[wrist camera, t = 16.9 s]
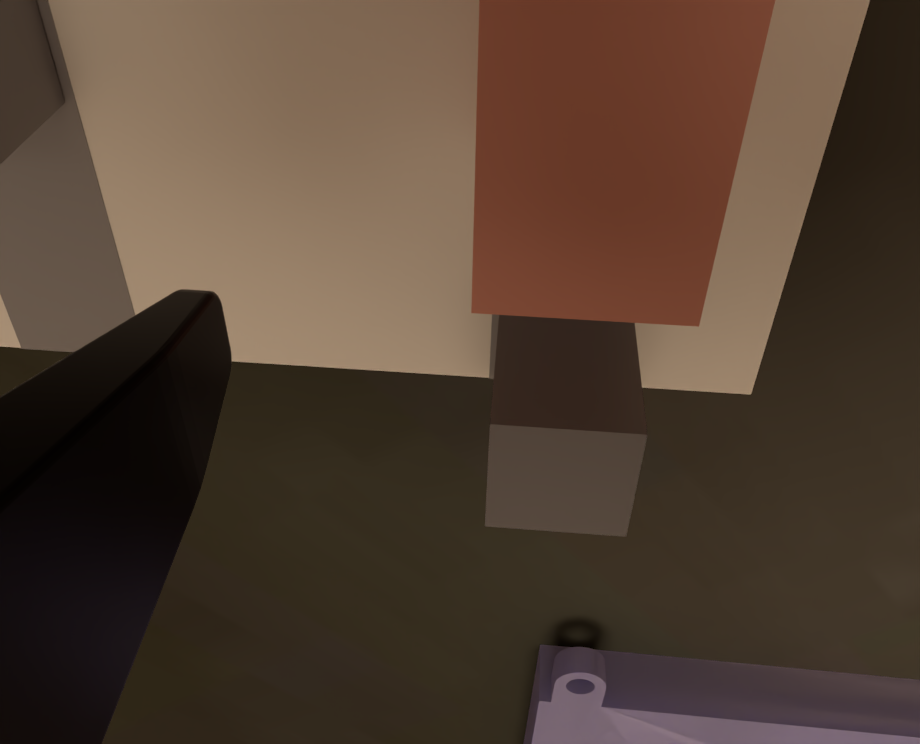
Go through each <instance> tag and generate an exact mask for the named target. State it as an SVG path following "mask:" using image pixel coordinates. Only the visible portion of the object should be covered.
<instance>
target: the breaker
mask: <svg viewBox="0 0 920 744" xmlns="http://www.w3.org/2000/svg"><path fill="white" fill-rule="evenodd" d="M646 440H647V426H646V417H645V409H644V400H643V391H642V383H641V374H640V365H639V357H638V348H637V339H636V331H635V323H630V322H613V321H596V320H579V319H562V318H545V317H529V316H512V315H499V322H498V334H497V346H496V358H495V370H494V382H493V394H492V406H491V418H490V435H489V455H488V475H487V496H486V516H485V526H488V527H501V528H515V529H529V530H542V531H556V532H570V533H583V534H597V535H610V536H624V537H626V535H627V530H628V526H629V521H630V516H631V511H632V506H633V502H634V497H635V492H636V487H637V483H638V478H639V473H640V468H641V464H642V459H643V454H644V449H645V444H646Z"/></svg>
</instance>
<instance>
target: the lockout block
mask: <svg viewBox="0 0 920 744" xmlns="http://www.w3.org/2000/svg"><path fill="white" fill-rule="evenodd" d="M774 4H775V0H479V35H478V74H477V112H476V151H475V190H474V229H473V268H472V307H471V313H478V314H495V315H512V316H529V317H545V318H562V319H579V320H596V321H613V322H630V323H647V324H664V325H681V326H697V327H699V324H700V320H701V316H702V311H703V307H704V303H705V299H706V294H707V290H708V286H709V281H710V277H711V273H712V269H713V264H714V260H715V256H716V252H717V247H718V243H719V239H720V234H721V230H722V226H723V222H724V217H725V213H726V209H727V205H728V200H729V196H730V192H731V187H732V183H733V179H734V175H735V170H736V166H737V162H738V158H739V153H740V149H741V145H742V141H743V136H744V132H745V128H746V123H747V119H748V115H749V111H750V106H751V102H752V98H753V94H754V89H755V85H756V81H757V76H758V72H759V68H760V64H761V59H762V55H763V51H764V47H765V42H766V38H767V34H768V29H769V25H770V21H771V17H772V12H773V8H774Z"/></svg>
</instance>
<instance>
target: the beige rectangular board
mask: <svg viewBox="0 0 920 744" xmlns="http://www.w3.org/2000/svg"><path fill="white" fill-rule="evenodd" d="M869 2H870V0H775V4H774V8H773V12H772V17H771V21H770V25H769V29H768V34H767V38H766V42H765V47H764V51H763V55H762V59H761V64H760V68H759V72H758V76H757V81H756V85H755V89H754V94H753V98H752V102H751V106H750V111H749V115H748V119H747V123H746V128H745V132H744V136H743V141H742V145H741V149H740V153H739V158H738V162H737V166H736V170H735V175H734V179H733V183H732V187H731V192H730V196H729V200H728V205H727V209H726V213H725V217H724V222H723V226H722V230H721V234H720V239H719V243H718V247H717V252H716V256H715V260H714V264H713V269H712V273H711V277H710V281H709V286H708V290H707V294H706V299H705V303H704V307H703V311H702V316H701V320H700V324H699V327H697V326H681V325H664V324H647V323H635V331H636V339H637V348H638V357H639V365H640V374H641V383H642V388H657V389H673V390H688V391H704V392H719V393H735V394H751V393H752V390H753V386H754V383H755V380H756V376H757V373H758V370H759V366H760V363H761V360H762V356H763V353H764V350H765V347H766V343H767V340H768V337H769V333H770V330H771V327H772V323H773V320H774V317H775V313H776V310H777V307H778V303H779V300H780V297H781V294H782V290H783V287H784V284H785V280H786V277H787V274H788V270H789V267H790V264H791V260H792V257H793V254H794V250H795V247H796V244H797V241H798V237H799V234H800V231H801V227H802V224H803V221H804V217H805V214H806V211H807V207H808V204H809V201H810V198H811V194H812V191H813V188H814V184H815V181H816V178H817V174H818V171H819V168H820V164H821V161H822V158H823V154H824V151H825V148H826V145H827V141H828V138H829V135H830V131H831V128H832V125H833V121H834V118H835V115H836V111H837V108H838V105H839V102H840V98H841V95H842V92H843V88H844V85H845V82H846V78H847V75H848V72H849V68H850V65H851V62H852V58H853V55H854V52H855V49H856V45H857V42H858V39H859V35H860V32H861V29H862V25H863V22H864V19H865V15H866V12H867V9H868V6H869ZM36 3H37V6H38V10H39V13H40V17H41V20H42V24H43V27H44V31H45V34H46V38H47V41H48V45H49V48H50V52H51V55H52V59H53V62H54V66H55V69H56V73H57V76H58V80H59V83H60V87H61V90H62V94H63V97H64V101H65V103H64V104H63V105H62V106H61V107H60V108H59V109H58V110H57V111H56V112H55V113H54V114H53V115H52V116H51V117H50V118H49V119H48V120H46V121H45V122H44V123H43V124H42V125H41V126H40V127H39V128H38V129H37V130H36V131H35V132H34V133H33V134H32V135H31V136H30V137H29V138H28V139H27V140H25V141H24V142H23V143H22V144H21V145H20V146H19V147H18V148H17V149H16V150H15V151H14V152H13V153H12V154H11V155H10V156H9V157H8V158H7V159H6V160H4V161H3V162H2V163H1V164H0V346H2V347H18V348H22V349H34V350H50V351H65V352H75V351H77V350H78V349H80V348H82V347H83V346H85V345H87V344H88V343H90V342H92V341H93V340H95V339H97V338H98V337H100V336H102V335H103V334H105V333H107V332H108V331H110V330H112V329H113V328H115V327H117V326H118V325H120V324H121V323H123V322H125V321H126V320H128V319H130V318H131V317H133V316H135V315H136V314H138V313H140V312H141V311H143V310H145V309H146V308H148V307H150V306H151V305H153V304H155V303H156V302H158V301H160V300H161V299H163V298H165V297H166V296H168V295H170V294H171V293H173V292H175V291H177V290H180V289H190V290H206V291H213V292H215V293H216V294H217V295H218V296H219V298H220V300H221V303H222V307H223V312H224V317H225V322H226V327H227V332H228V338H229V343H230V348H231V356H232V361H236V362H252V363H267V364H283V365H299V366H314V367H330V368H345V369H361V370H376V371H392V372H408V373H423V374H439V375H454V376H470V377H486V378H489V379H494V370H495V358H496V346H497V334H498V322H499V315H495V314H478V313H471V307H472V268H473V229H474V190H475V151H476V112H477V74H478V35H479V0H36Z"/></svg>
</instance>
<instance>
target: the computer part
mask: <svg viewBox="0 0 920 744" xmlns="http://www.w3.org/2000/svg"><path fill="white" fill-rule="evenodd" d="M523 744H920V680H916V679H905V678H894V677H884V676H873V675H862V674H852V673H841V672H830V671H819V670H809V669H798V668H787V667H777V666H766V665H755V664H745V663H734V662H723V661H712V660H702V659H691V658H680V657H670V656H659V655H648V654H638V653H627V652H616V651H606V650H595V649H591V648H586V647H563V646H552V645H541V644H540V648H539V654H538V660H537V666H536V672H535V678H534V684H533V690H532V696H531V702H530V708H529V713H528V719H527V725H526V731H525V737H524V743H523Z"/></svg>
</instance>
